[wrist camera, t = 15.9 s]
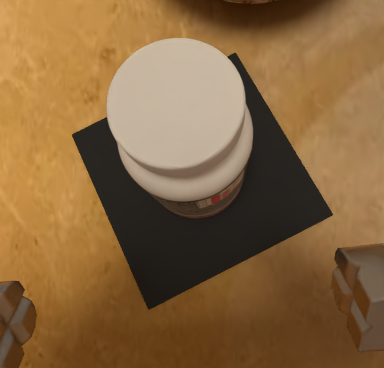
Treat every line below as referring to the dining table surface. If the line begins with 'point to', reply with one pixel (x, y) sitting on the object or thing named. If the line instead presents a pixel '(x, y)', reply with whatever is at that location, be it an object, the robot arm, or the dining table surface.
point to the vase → (251, 1)
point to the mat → (208, 226)
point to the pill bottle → (182, 125)
